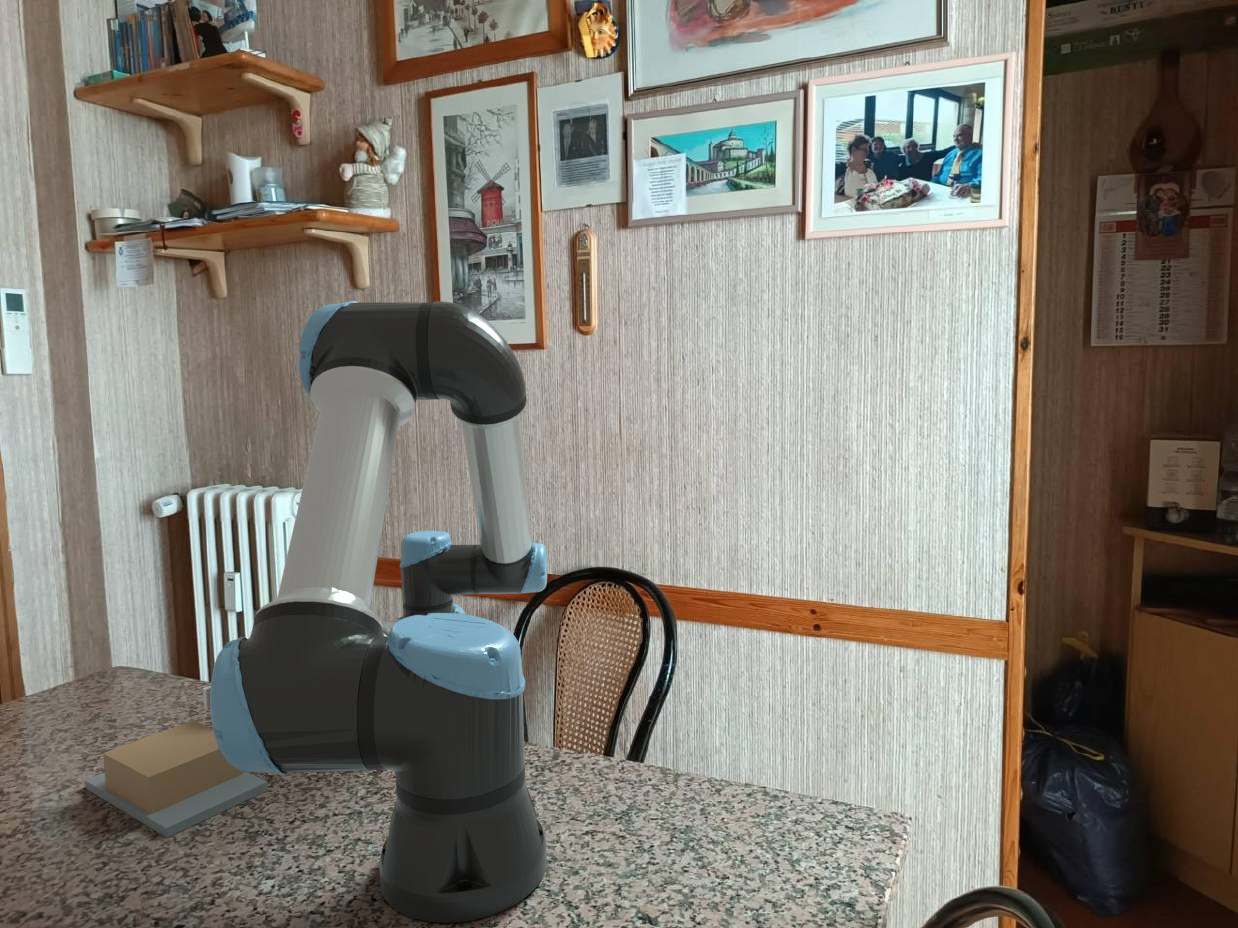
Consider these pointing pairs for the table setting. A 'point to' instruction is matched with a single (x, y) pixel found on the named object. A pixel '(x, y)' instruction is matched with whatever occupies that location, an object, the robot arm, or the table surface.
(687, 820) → the table surface
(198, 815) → the plinth
